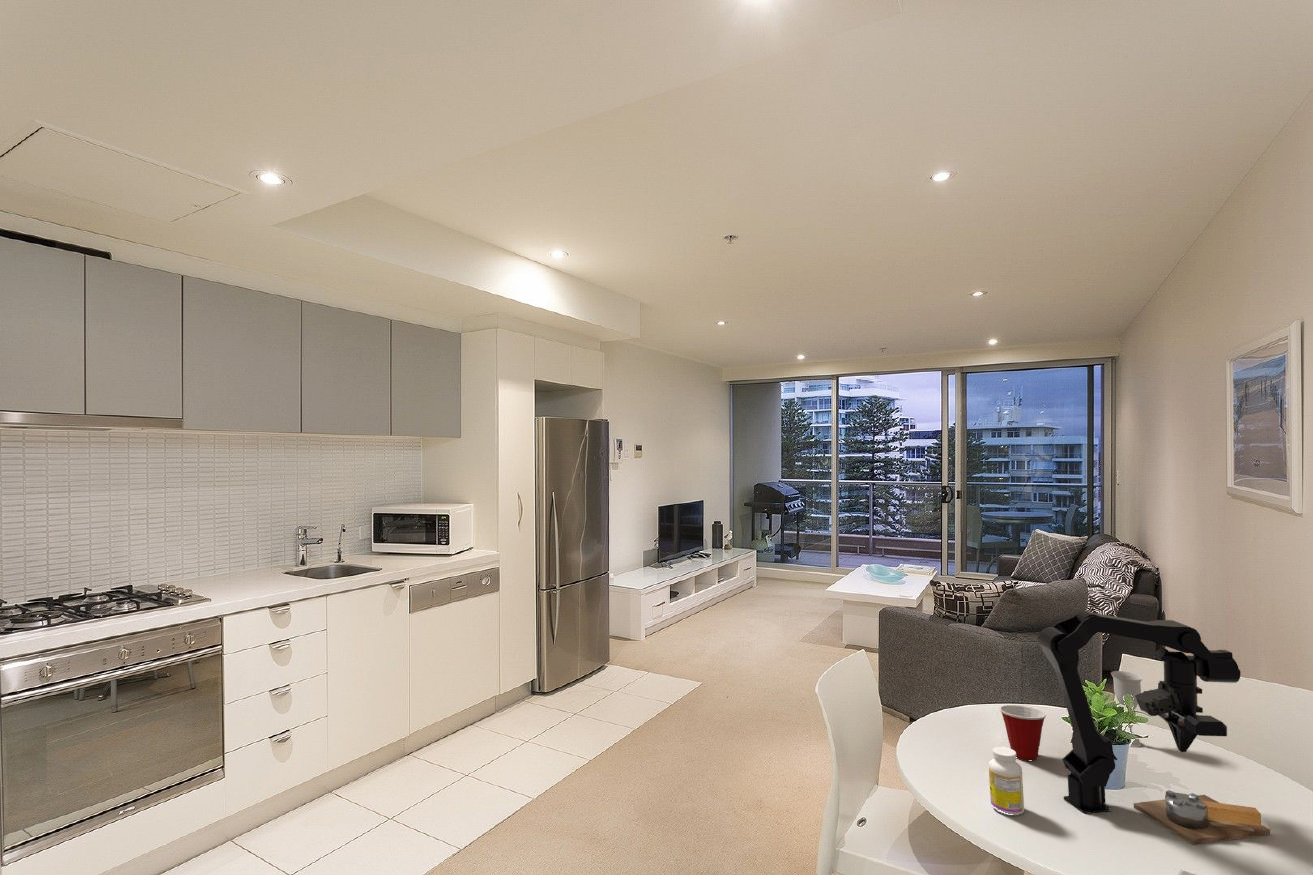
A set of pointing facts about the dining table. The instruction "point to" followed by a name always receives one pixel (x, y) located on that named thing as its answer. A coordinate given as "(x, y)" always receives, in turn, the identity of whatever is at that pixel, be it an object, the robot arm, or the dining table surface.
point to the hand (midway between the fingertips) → (1182, 751)
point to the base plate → (1200, 835)
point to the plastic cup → (1023, 729)
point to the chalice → (1127, 691)
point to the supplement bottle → (1006, 781)
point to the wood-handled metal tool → (1206, 811)
